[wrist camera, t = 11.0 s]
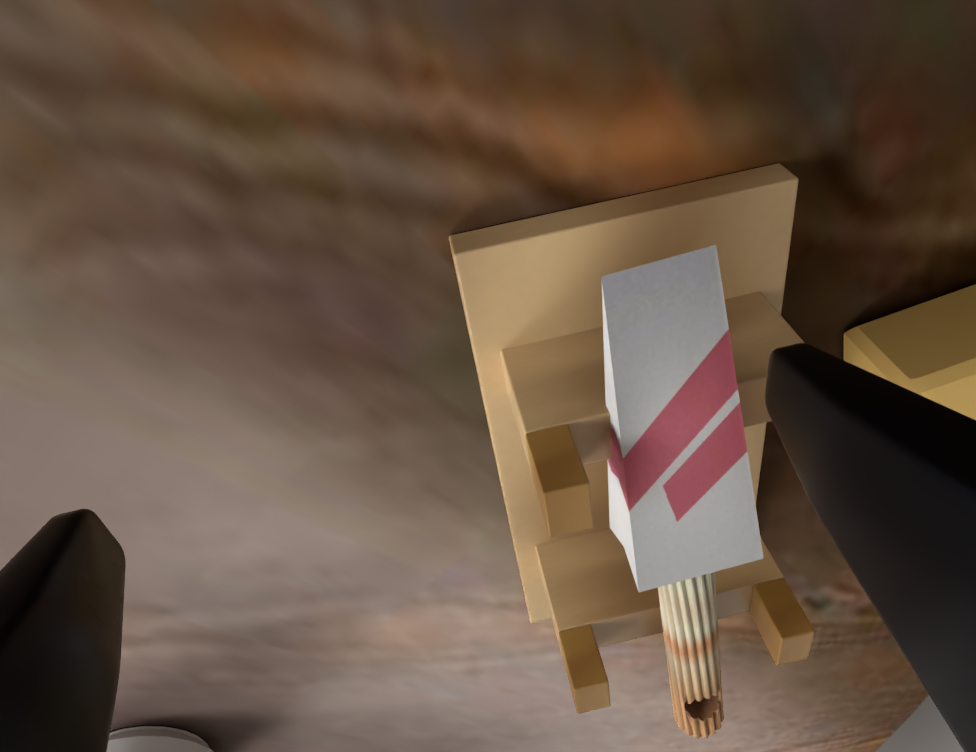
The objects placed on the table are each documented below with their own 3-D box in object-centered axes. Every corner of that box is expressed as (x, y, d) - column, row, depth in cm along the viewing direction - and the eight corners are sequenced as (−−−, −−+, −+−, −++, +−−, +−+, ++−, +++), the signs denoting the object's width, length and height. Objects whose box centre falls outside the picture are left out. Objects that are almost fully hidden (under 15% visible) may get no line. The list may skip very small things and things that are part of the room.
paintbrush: (770, 264, 16) (759, 737, 27) (717, 218, 18) (728, 673, 29) (598, 310, 16) (660, 765, 27) (567, 258, 18) (636, 698, 29)
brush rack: (780, 162, 21) (938, 289, 16) (736, 551, 33) (816, 701, 28) (447, 234, 21) (488, 391, 15) (525, 601, 33) (563, 762, 27)
